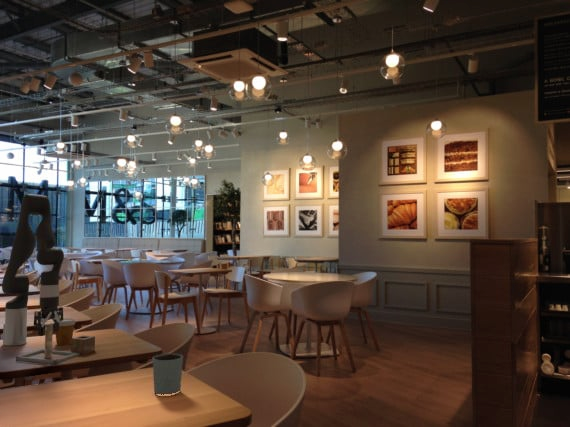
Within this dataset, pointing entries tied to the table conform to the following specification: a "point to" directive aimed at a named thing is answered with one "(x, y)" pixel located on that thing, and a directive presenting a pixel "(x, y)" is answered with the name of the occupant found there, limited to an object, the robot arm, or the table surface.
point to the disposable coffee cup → (65, 332)
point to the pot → (83, 344)
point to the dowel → (48, 340)
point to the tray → (45, 361)
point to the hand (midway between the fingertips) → (48, 333)
